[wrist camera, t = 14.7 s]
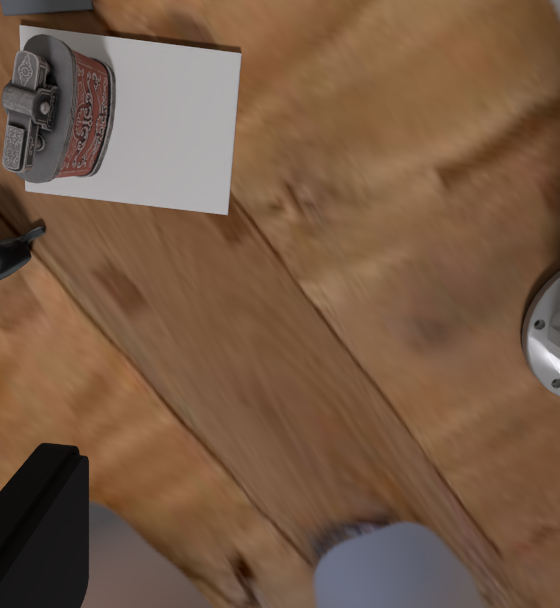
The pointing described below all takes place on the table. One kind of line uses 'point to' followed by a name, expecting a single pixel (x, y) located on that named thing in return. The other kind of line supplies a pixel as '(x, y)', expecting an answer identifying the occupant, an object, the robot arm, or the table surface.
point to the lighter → (57, 112)
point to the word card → (43, 6)
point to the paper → (160, 124)
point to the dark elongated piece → (16, 251)
